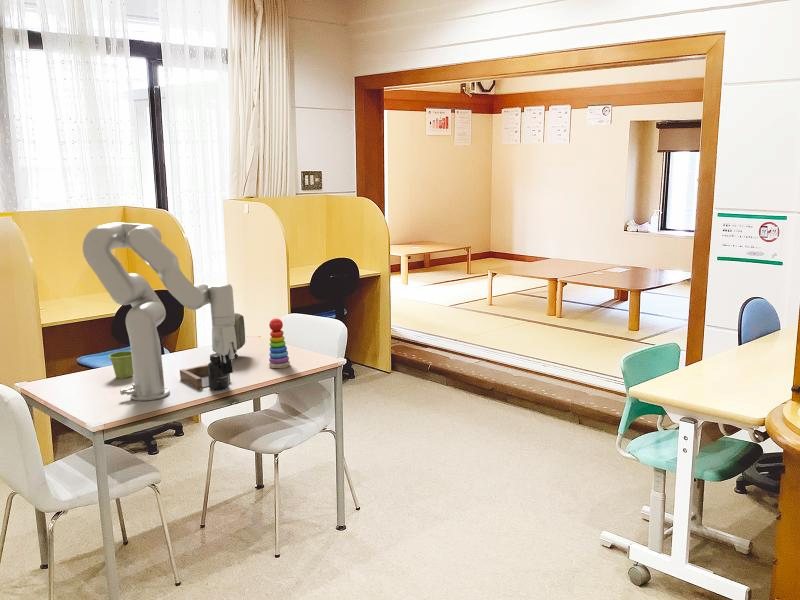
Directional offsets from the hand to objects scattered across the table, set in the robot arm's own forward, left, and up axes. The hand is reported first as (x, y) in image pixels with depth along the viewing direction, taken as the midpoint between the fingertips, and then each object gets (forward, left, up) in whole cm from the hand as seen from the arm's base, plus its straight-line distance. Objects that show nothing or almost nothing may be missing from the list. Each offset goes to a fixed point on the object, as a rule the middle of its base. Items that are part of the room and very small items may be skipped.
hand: (227, 373), depth 244 cm
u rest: (0, +19, -7) cm, 20 cm away
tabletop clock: (+21, +42, -7) cm, 47 cm away
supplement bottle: (0, +8, -7) cm, 11 cm away
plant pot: (-20, +47, -7) cm, 51 cm away
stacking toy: (+29, +17, -7) cm, 34 cm away
